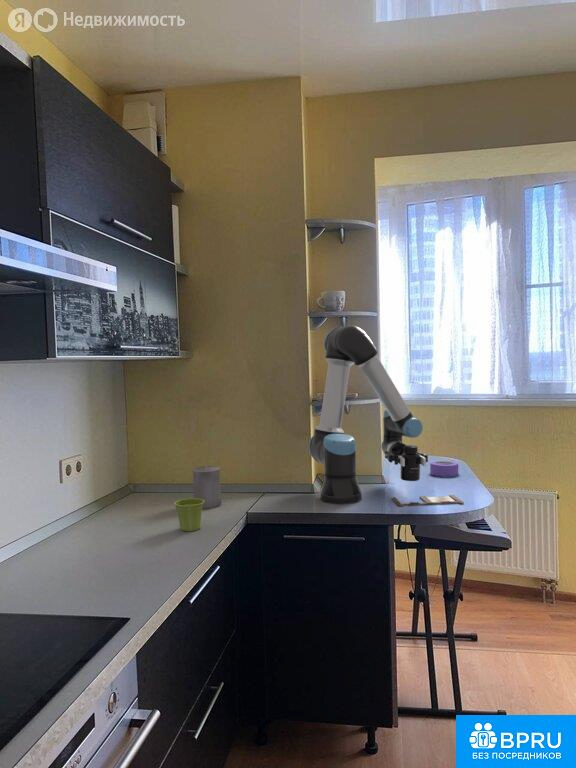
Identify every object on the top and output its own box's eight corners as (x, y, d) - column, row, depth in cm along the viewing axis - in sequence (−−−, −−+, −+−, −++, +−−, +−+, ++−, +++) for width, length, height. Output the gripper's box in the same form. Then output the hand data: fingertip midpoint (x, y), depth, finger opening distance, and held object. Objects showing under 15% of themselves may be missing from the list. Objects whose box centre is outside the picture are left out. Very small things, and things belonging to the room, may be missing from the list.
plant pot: (173, 526, 186) (171, 500, 186) (201, 523, 190) (200, 496, 189) (178, 535, 178) (176, 507, 177) (208, 530, 181) (207, 503, 180)
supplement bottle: (414, 482, 203) (415, 448, 202) (397, 479, 207) (397, 446, 206) (423, 479, 208) (423, 445, 208) (405, 476, 212) (405, 444, 212)
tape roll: (456, 471, 257) (456, 460, 257) (460, 477, 246) (460, 465, 245) (429, 471, 259) (428, 460, 259) (431, 477, 247) (431, 465, 247)
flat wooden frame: (398, 507, 201) (398, 504, 201) (391, 499, 212) (391, 496, 212) (463, 504, 202) (463, 501, 202) (453, 496, 213) (453, 493, 213)
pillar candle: (206, 500, 218) (204, 461, 217) (226, 503, 213) (224, 463, 212) (189, 507, 210) (186, 466, 209) (210, 510, 205) (208, 468, 204)
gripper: (423, 461, 226) (442, 472, 203) (373, 461, 225) (386, 473, 202) (423, 441, 226) (442, 451, 203) (373, 442, 225) (386, 452, 202)
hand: (414, 462), depth 202 cm, fingers closed on supplement bottle, 7 cm apart
